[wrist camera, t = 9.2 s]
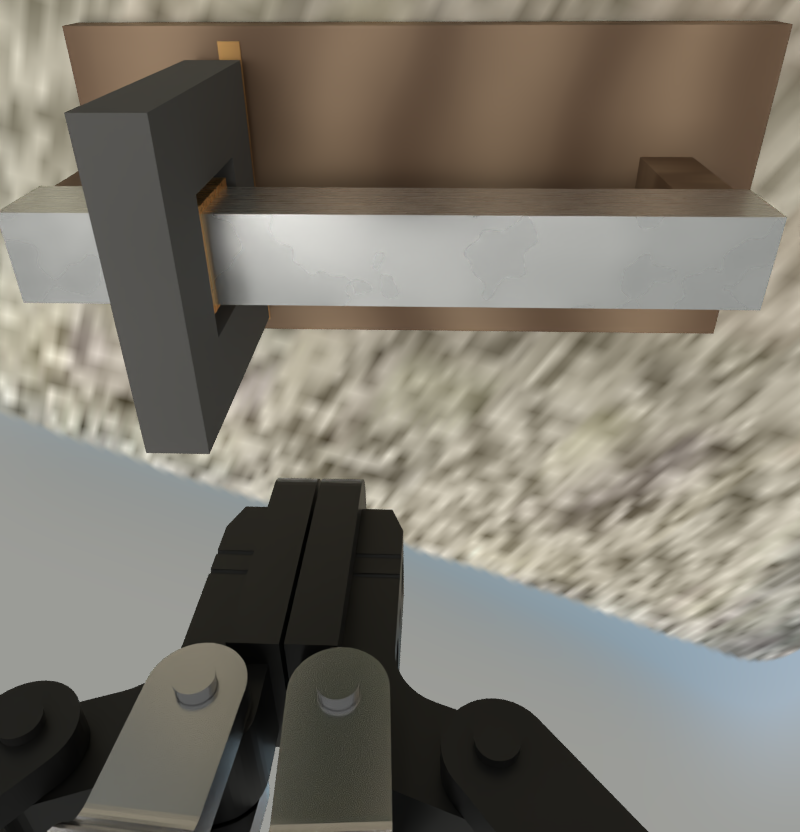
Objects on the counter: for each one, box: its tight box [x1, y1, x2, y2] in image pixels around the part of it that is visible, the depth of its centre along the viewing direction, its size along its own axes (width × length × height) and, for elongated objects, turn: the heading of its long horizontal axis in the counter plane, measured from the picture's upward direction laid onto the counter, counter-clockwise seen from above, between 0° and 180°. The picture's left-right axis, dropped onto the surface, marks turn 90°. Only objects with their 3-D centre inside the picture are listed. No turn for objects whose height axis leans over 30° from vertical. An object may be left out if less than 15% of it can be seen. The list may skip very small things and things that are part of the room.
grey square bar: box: [0, 177, 787, 313], centre depth 24 cm, size 24×4×4 cm, turn 90°
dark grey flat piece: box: [64, 60, 269, 454], centre depth 24 cm, size 2×10×10 cm, turn 0°
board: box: [55, 21, 793, 333], centre depth 28 cm, size 26×12×6 cm, turn 90°
